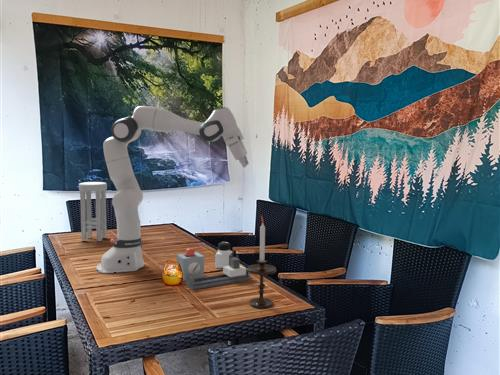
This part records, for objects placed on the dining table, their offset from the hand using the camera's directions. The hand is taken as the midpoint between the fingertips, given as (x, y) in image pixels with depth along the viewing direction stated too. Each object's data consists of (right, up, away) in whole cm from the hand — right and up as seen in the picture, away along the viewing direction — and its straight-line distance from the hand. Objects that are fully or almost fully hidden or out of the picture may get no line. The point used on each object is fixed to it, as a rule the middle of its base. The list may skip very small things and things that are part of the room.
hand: (246, 165), depth 211 cm
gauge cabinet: (-26, -51, -8) cm, 58 cm away
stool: (-93, -43, +59) cm, 119 cm away
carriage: (-5, -49, -12) cm, 51 cm away
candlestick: (+6, -56, -40) cm, 69 cm away
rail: (-12, -52, -15) cm, 56 cm away
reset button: (-26, -43, -9) cm, 51 cm away
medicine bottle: (-11, -50, +8) cm, 52 cm away
